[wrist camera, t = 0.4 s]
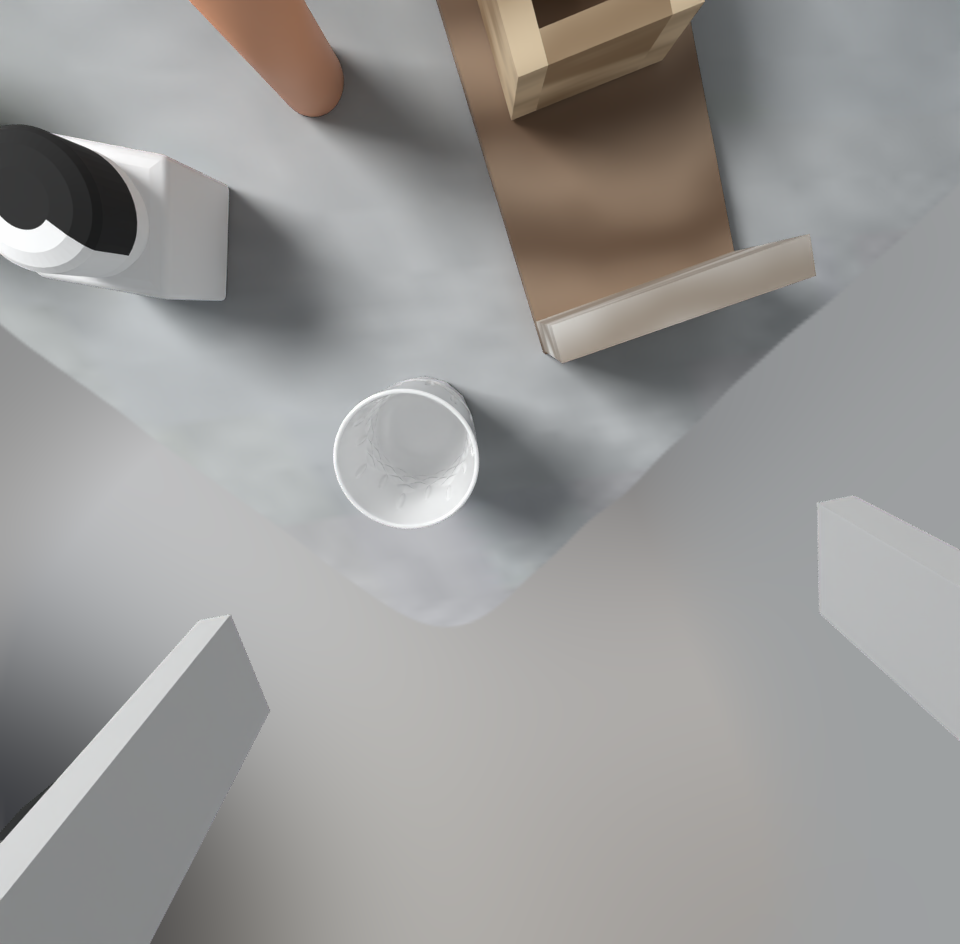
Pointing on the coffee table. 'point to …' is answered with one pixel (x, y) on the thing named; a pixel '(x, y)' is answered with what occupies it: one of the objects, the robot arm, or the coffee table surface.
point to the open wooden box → (577, 46)
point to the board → (613, 196)
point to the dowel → (281, 49)
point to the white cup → (408, 454)
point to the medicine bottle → (111, 216)
